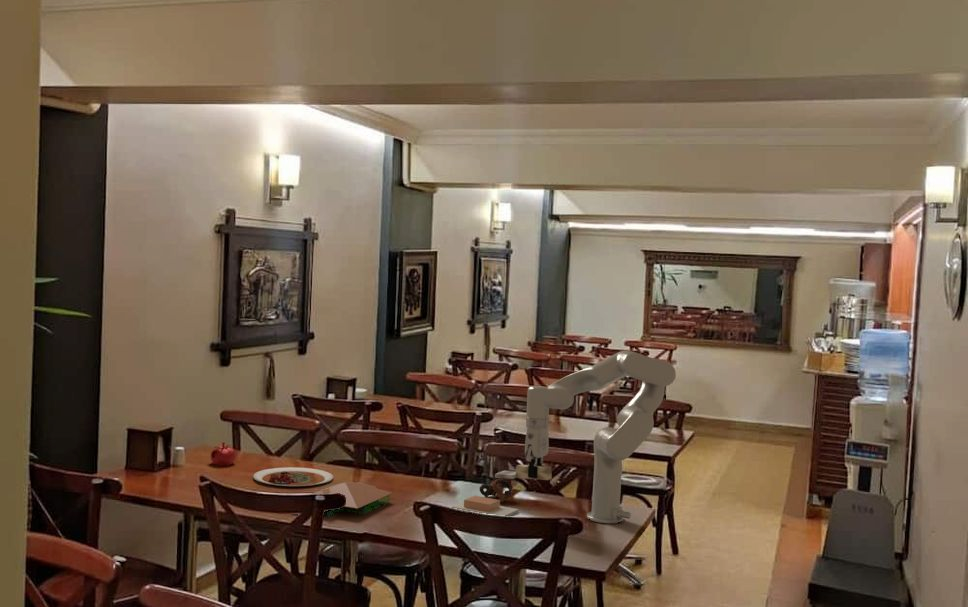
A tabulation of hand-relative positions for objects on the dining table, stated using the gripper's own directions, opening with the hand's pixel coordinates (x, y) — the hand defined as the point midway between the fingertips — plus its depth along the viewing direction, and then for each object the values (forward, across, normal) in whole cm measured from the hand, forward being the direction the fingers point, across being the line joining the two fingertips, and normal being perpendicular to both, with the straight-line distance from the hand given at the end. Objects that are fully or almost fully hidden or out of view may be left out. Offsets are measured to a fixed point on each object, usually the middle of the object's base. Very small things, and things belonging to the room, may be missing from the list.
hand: (534, 476), depth 312 cm
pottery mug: (+16, +16, +24) cm, 33 cm away
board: (+15, 0, +18) cm, 23 cm away
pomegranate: (+14, -6, +135) cm, 136 cm away
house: (+15, -24, +61) cm, 67 cm away
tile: (+12, 0, +15) cm, 19 cm away
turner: (+1, 0, -1) cm, 1 cm away
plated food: (+15, -6, +98) cm, 100 cm away
